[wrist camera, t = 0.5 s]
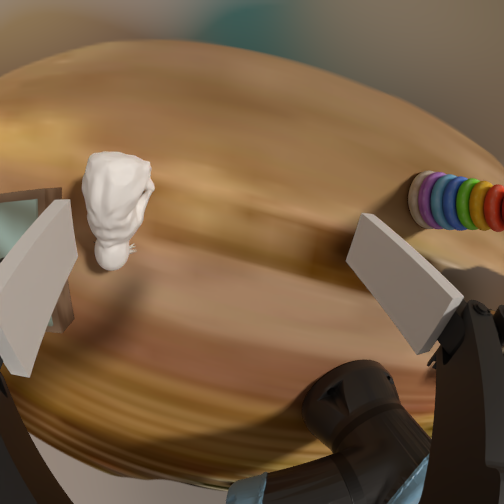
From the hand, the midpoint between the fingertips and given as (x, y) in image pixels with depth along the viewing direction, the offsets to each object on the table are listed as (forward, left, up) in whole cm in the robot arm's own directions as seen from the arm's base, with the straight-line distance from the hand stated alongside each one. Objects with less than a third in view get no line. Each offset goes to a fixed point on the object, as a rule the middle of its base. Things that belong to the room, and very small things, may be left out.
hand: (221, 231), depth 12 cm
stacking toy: (+2, -28, -19) cm, 34 cm away
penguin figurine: (-1, +10, -19) cm, 21 cm away
